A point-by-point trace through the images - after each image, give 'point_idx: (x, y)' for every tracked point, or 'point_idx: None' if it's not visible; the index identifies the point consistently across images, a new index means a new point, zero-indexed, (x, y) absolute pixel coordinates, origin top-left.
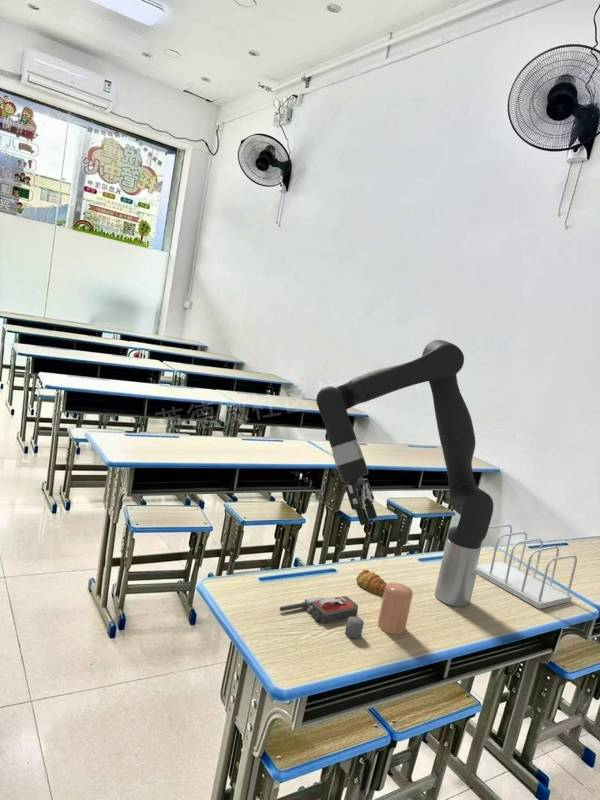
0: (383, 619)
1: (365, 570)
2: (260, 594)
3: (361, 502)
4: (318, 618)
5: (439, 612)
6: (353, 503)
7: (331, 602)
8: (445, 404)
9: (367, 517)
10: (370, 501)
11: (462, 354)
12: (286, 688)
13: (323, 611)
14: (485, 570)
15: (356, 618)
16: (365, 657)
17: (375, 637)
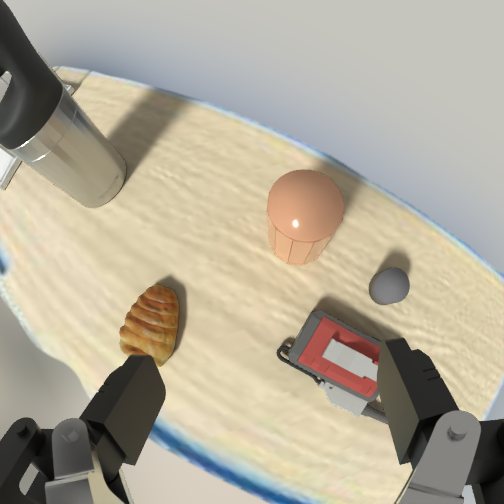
0: (326, 244)
1: (132, 353)
2: (369, 482)
3: (465, 470)
4: None
5: (164, 178)
6: (481, 494)
7: (371, 359)
8: None
9: (406, 360)
10: (94, 446)
11: None
12: None
13: None
14: (6, 167)
15: (384, 287)
16: (424, 243)
17: (359, 250)
